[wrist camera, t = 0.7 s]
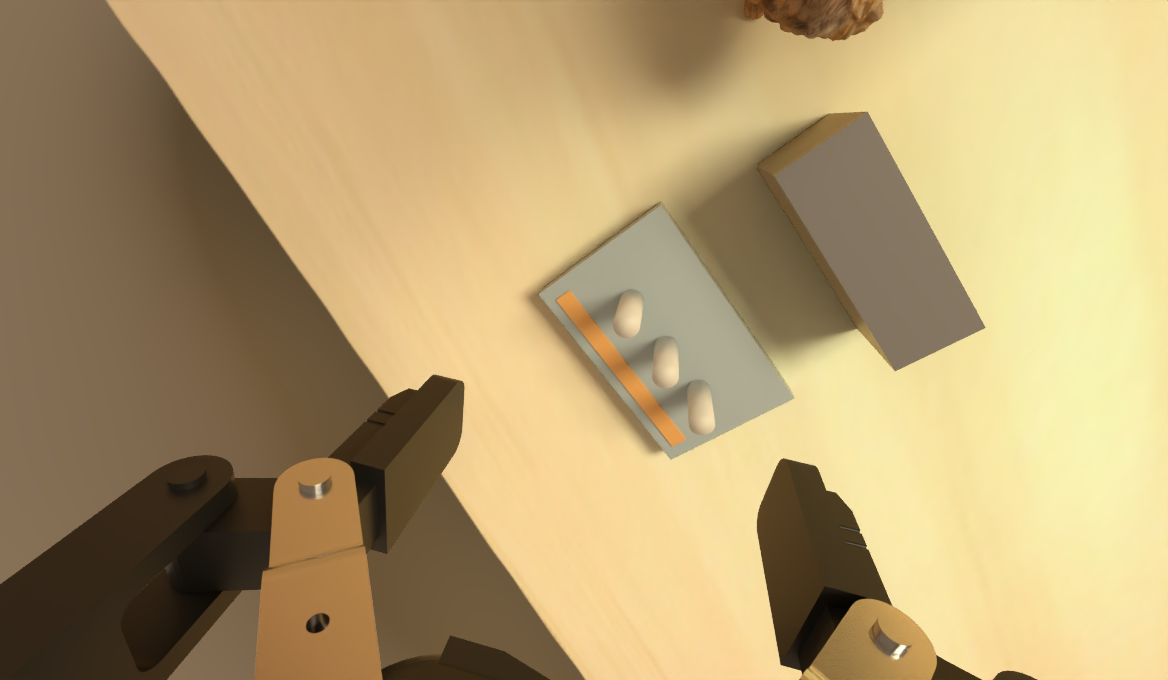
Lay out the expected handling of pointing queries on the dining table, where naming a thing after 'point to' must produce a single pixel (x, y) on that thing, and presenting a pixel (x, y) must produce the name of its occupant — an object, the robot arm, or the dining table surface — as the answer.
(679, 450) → the board
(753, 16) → the lion figurine
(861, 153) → the block
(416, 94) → the dining table surface
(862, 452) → the dining table surface
